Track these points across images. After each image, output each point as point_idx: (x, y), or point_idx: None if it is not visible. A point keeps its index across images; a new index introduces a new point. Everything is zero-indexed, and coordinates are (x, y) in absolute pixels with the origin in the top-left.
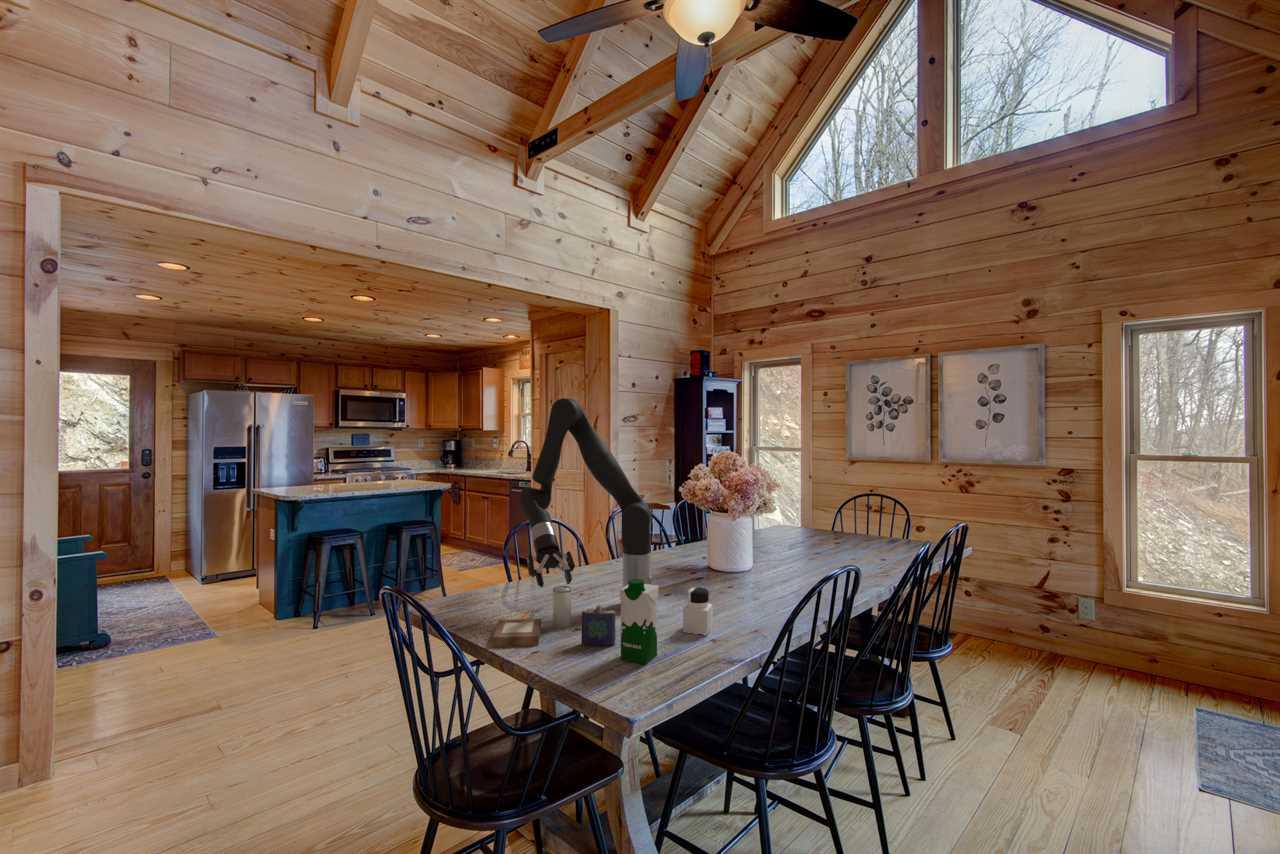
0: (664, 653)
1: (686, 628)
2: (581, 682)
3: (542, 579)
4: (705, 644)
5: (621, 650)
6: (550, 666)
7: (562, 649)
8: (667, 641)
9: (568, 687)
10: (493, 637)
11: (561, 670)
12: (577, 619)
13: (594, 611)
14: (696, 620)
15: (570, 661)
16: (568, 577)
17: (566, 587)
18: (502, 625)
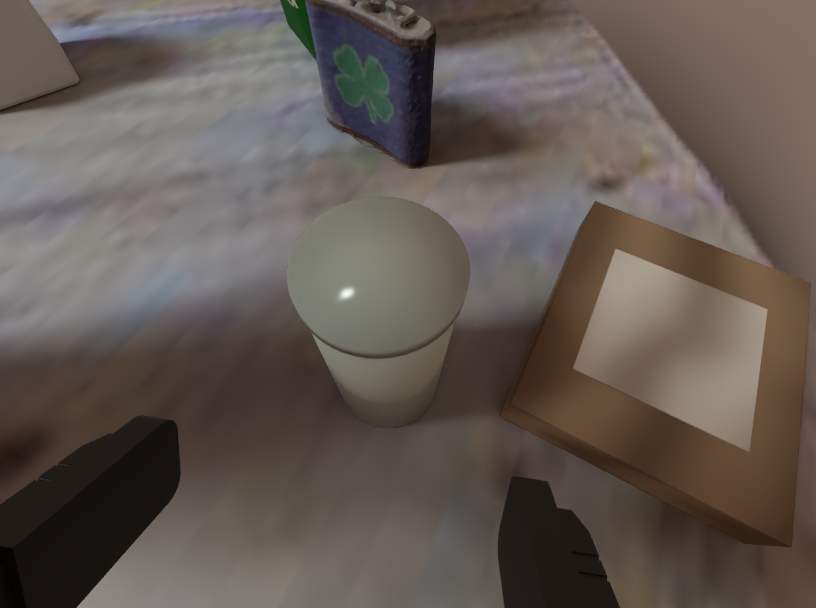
0: (264, 25)
1: (66, 59)
2: (540, 11)
3: (534, 519)
4: (127, 15)
5: None
6: (585, 91)
7: (507, 160)
8: (183, 65)
9: (576, 8)
10: (806, 282)
11: (564, 64)
12: (262, 421)
13: (387, 7)
14: (30, 6)
15: (519, 90)
16: (131, 440)
17: (330, 265)
18: (764, 422)
